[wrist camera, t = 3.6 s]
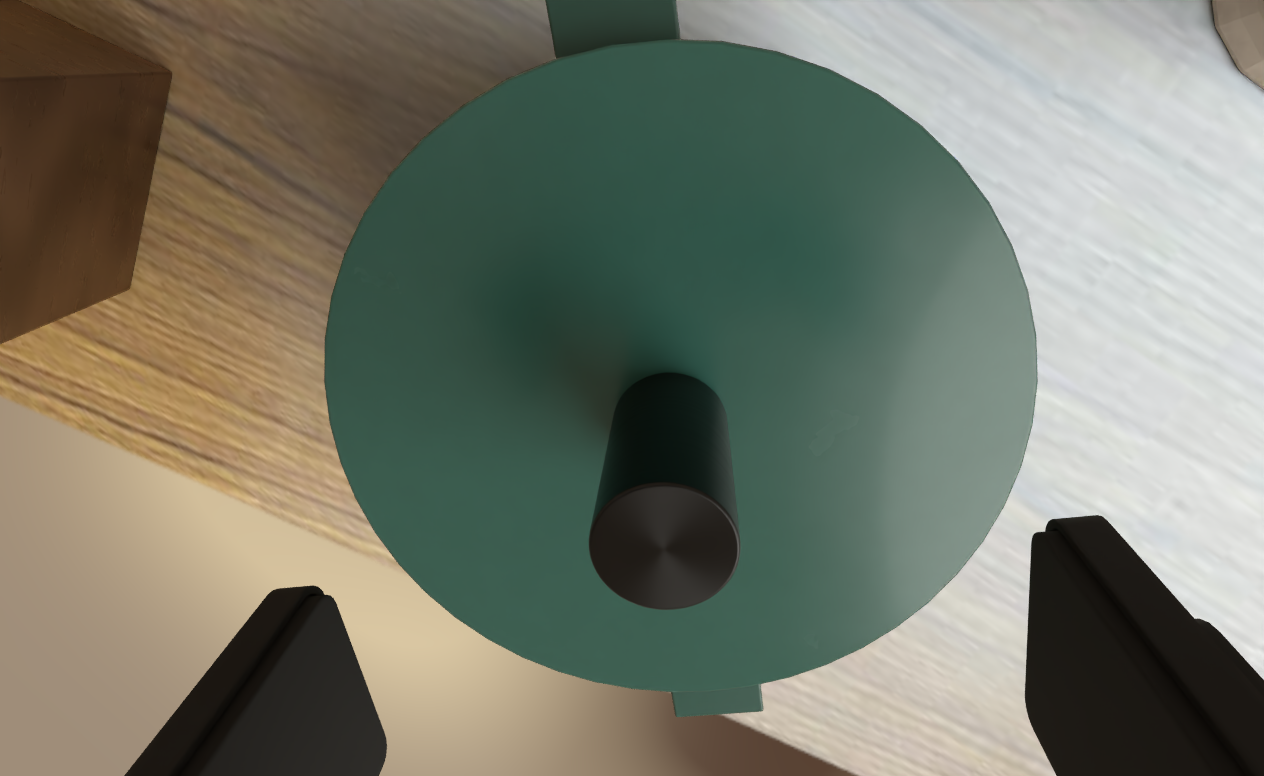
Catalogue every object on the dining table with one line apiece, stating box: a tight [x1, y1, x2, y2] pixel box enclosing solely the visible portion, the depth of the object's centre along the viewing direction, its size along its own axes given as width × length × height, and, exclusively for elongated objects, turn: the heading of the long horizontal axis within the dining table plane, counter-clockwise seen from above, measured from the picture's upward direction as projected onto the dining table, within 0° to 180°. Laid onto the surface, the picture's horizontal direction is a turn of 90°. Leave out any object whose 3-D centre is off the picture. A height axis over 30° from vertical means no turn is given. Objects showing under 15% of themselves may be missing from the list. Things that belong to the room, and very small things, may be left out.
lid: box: [324, 39, 1038, 692], centre depth 15 cm, size 15×15×6 cm
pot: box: [545, 0, 763, 717], centre depth 22 cm, size 14×19×10 cm
